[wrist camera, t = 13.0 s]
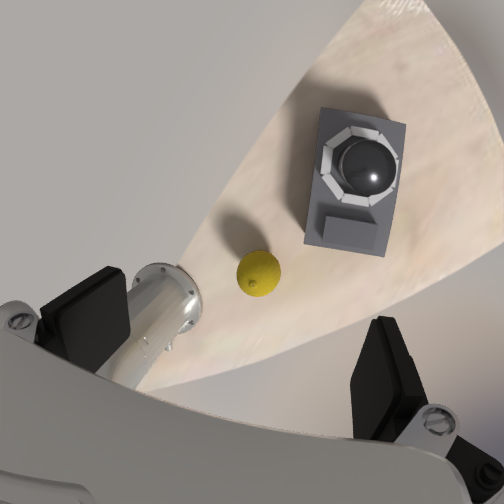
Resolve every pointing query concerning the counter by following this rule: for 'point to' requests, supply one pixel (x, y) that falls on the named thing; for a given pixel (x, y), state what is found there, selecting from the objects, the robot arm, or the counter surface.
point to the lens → (367, 167)
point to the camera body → (344, 196)
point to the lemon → (258, 273)
